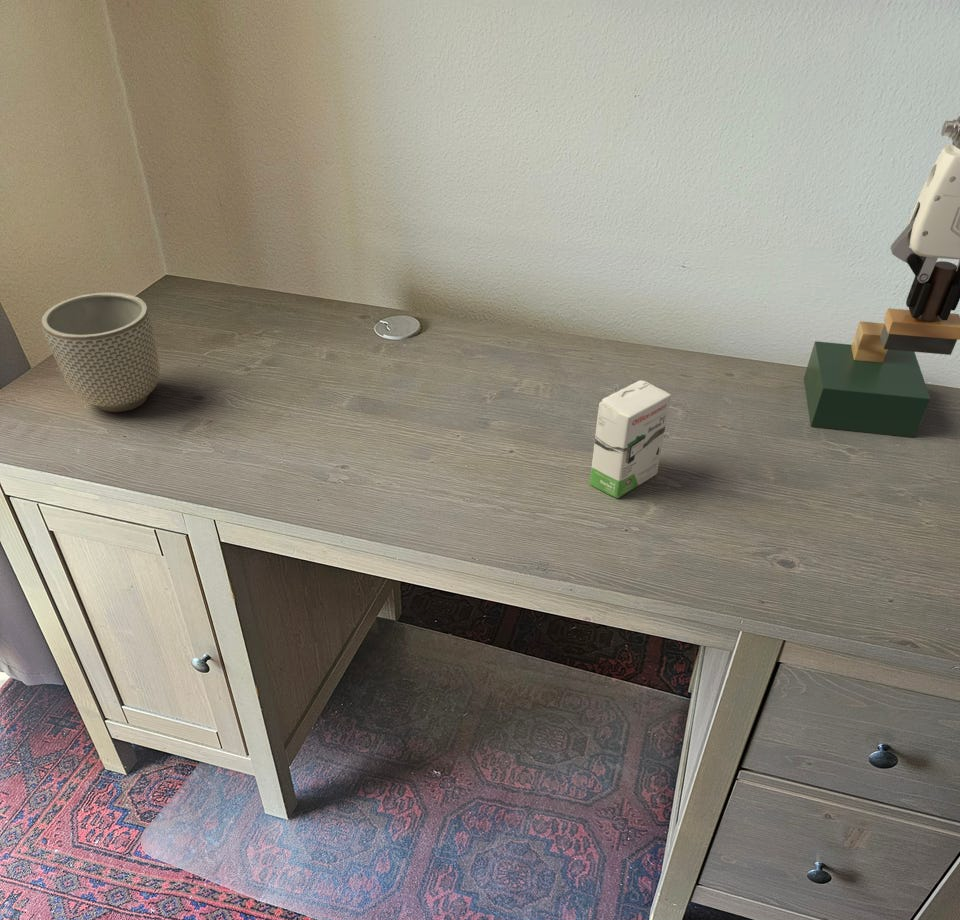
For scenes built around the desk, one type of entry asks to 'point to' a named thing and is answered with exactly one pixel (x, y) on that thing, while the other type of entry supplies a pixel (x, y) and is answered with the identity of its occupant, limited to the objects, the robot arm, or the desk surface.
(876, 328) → the tan wooden cube
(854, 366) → the enamel box
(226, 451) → the desk surface
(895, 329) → the brush
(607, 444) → the ink box
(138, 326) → the planter
